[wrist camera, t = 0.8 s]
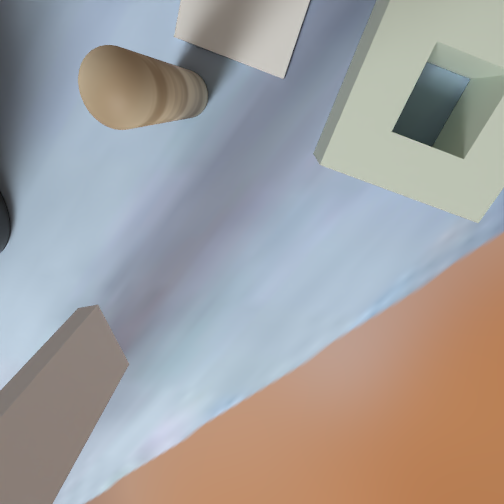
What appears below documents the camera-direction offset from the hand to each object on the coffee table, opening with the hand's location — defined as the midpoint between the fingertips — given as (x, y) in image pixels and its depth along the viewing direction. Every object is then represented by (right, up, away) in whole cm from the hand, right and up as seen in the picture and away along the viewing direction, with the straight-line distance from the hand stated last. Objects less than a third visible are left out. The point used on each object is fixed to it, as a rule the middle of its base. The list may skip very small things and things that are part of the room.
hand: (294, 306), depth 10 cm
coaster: (-2, +23, +16) cm, 28 cm away
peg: (-7, +16, +19) cm, 26 cm away
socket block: (+13, +15, +18) cm, 27 cm away
